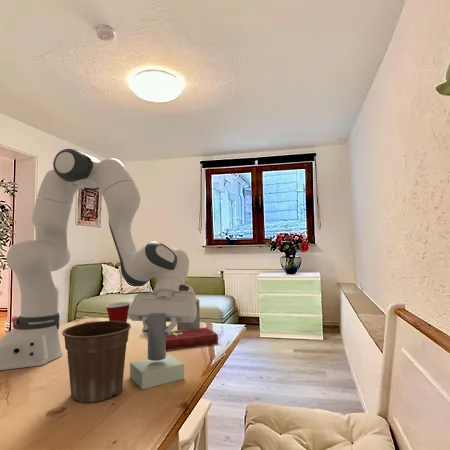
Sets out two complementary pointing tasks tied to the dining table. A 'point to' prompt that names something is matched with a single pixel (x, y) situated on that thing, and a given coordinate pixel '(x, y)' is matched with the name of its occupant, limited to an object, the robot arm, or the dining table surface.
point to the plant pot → (96, 359)
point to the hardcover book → (191, 338)
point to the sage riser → (156, 371)
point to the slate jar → (156, 336)
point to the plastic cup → (118, 311)
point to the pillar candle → (194, 324)
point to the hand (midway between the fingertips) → (156, 333)
